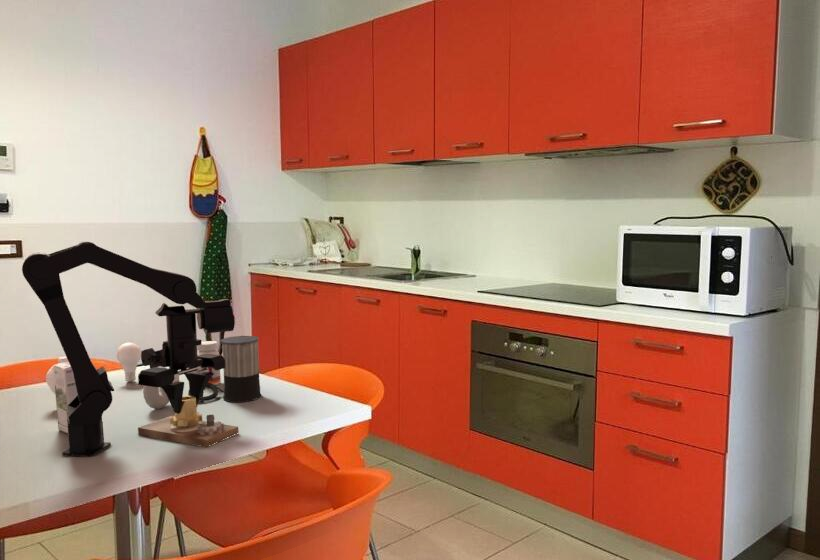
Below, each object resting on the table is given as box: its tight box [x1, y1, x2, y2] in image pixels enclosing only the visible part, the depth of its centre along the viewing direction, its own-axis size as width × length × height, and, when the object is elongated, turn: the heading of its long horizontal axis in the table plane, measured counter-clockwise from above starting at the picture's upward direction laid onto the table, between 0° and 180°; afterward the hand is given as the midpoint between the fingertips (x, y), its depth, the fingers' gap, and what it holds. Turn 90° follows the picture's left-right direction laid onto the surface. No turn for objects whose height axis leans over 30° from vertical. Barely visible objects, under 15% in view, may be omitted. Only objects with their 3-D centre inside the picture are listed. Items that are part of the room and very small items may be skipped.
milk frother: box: [187, 335, 262, 403], centre depth 168 cm, size 14×16×15 cm
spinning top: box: [45, 356, 68, 396], centre depth 164 cm, size 8×8×12 cm
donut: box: [142, 366, 170, 410], centre depth 161 cm, size 10×4×10 cm, turn 168°
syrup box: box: [52, 361, 78, 435], centre depth 145 cm, size 6×6×14 cm
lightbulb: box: [115, 341, 142, 383], centre depth 187 cm, size 6×6×11 cm
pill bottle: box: [197, 340, 222, 386], centre depth 183 cm, size 6×6×11 cm
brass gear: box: [170, 395, 203, 427], centre depth 141 cm, size 6×6×5 cm
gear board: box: [137, 414, 240, 448], centre depth 141 cm, size 19×9×6 cm, turn 63°
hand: (185, 410), depth 141 cm, fingers closed on brass gear, 4 cm apart
